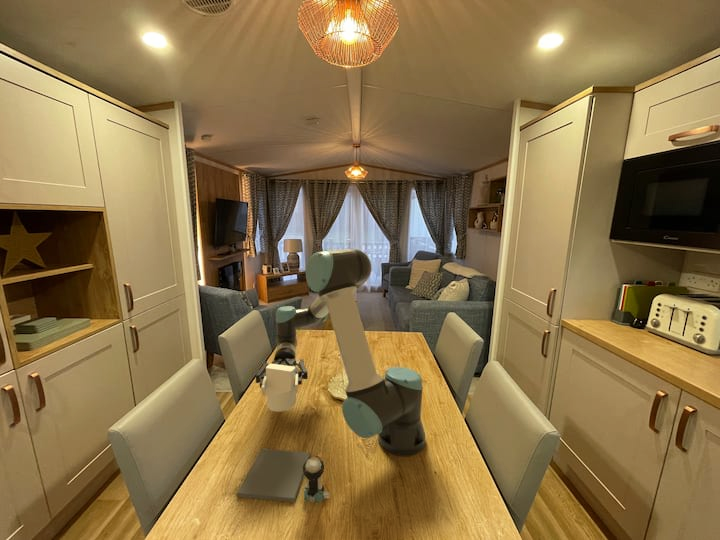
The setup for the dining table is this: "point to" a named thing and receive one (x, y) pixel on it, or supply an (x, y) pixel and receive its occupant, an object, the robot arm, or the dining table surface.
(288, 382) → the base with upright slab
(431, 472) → the dining table surface
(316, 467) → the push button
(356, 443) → the dining table surface
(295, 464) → the slate mat
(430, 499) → the dining table surface
